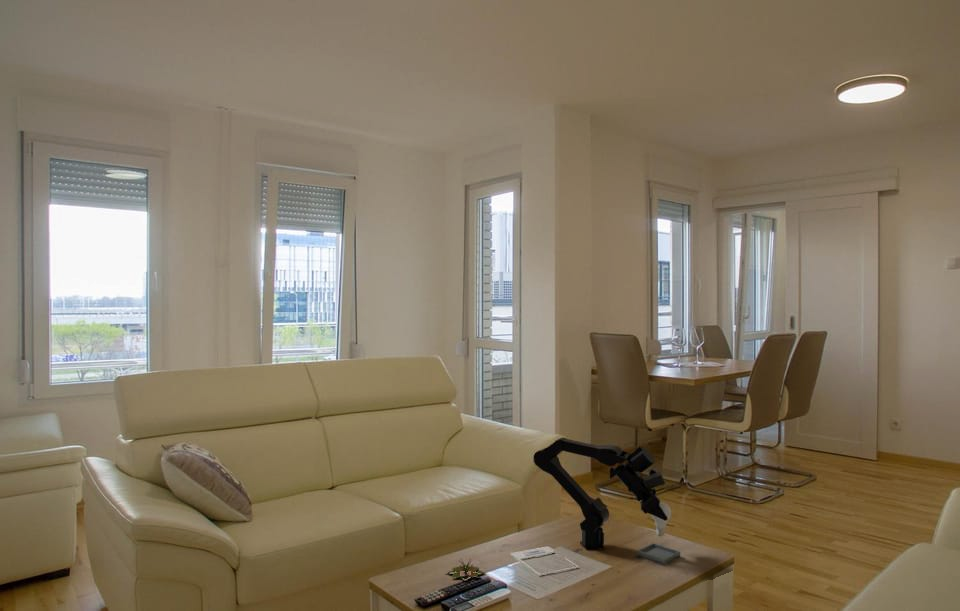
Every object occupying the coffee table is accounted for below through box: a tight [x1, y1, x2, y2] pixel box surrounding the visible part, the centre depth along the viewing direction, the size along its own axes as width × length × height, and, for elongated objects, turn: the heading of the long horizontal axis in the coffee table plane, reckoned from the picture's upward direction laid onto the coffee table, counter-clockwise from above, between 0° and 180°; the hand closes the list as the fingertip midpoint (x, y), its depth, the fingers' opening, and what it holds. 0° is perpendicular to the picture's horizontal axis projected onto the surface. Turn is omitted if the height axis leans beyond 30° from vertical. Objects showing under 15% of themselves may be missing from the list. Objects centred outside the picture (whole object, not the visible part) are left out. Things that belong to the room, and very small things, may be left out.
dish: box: [636, 542, 681, 567], centre depth 199 cm, size 10×10×2 cm
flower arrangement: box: [447, 558, 486, 580], centre depth 184 cm, size 12×12×5 cm
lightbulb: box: [650, 501, 672, 537], centre depth 200 cm, size 6×6×11 cm
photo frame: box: [509, 546, 580, 575], centre depth 194 cm, size 15×1×18 cm
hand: (665, 516), depth 200 cm, fingers closed on lightbulb, 6 cm apart
